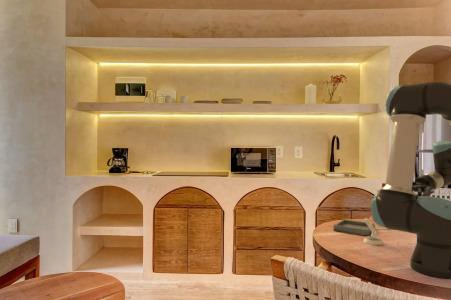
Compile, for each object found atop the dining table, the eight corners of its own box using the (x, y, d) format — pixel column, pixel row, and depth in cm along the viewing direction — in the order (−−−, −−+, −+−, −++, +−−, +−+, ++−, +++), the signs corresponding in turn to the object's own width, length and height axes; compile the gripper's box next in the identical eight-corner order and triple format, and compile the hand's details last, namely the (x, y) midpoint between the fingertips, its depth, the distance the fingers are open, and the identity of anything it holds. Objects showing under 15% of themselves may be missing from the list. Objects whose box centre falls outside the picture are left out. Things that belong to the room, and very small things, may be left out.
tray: (367, 235, 152) (367, 230, 152) (333, 230, 160) (333, 225, 160) (375, 228, 164) (375, 223, 164) (343, 224, 173) (343, 219, 173)
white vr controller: (352, 225, 149) (366, 217, 148) (369, 250, 145) (383, 242, 144) (352, 225, 142) (367, 217, 141) (370, 252, 138) (386, 243, 137)
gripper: (457, 197, 137) (416, 214, 131) (405, 184, 160) (369, 197, 154) (455, 180, 135) (415, 195, 129) (404, 169, 159) (367, 182, 152)
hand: (390, 196), depth 141 cm, fingers open, 13 cm apart
